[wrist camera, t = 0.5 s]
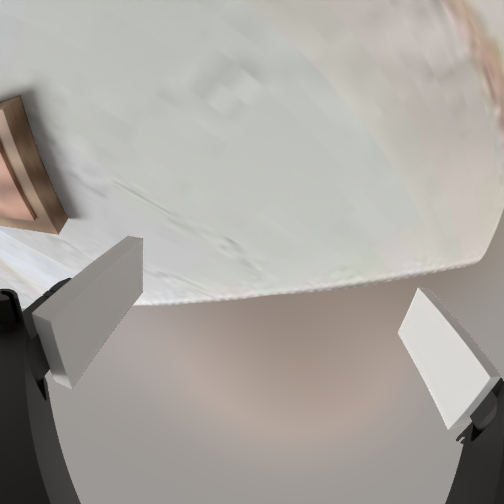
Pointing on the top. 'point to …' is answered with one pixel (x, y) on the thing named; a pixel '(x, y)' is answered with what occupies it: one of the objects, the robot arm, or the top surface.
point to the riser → (24, 176)
